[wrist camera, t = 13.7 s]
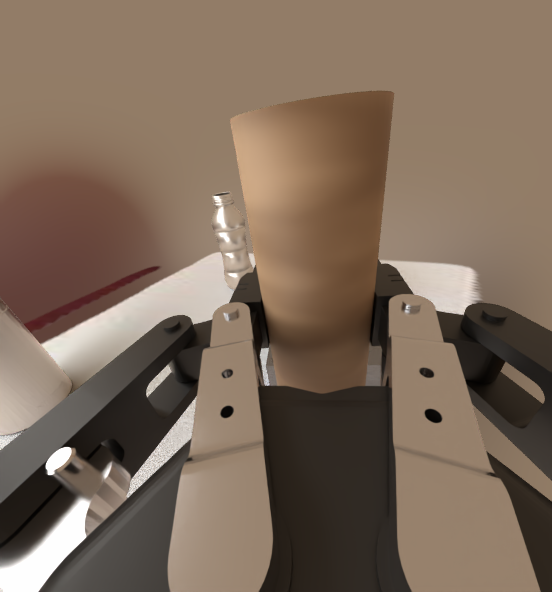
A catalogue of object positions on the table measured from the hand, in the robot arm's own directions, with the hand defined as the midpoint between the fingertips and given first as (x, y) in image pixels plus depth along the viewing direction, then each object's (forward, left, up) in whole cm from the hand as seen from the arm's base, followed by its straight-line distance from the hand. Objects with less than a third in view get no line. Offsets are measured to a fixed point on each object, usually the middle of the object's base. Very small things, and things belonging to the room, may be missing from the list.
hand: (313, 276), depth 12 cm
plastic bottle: (-16, +37, -22) cm, 46 cm away
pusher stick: (0, -3, -8) cm, 8 cm away
